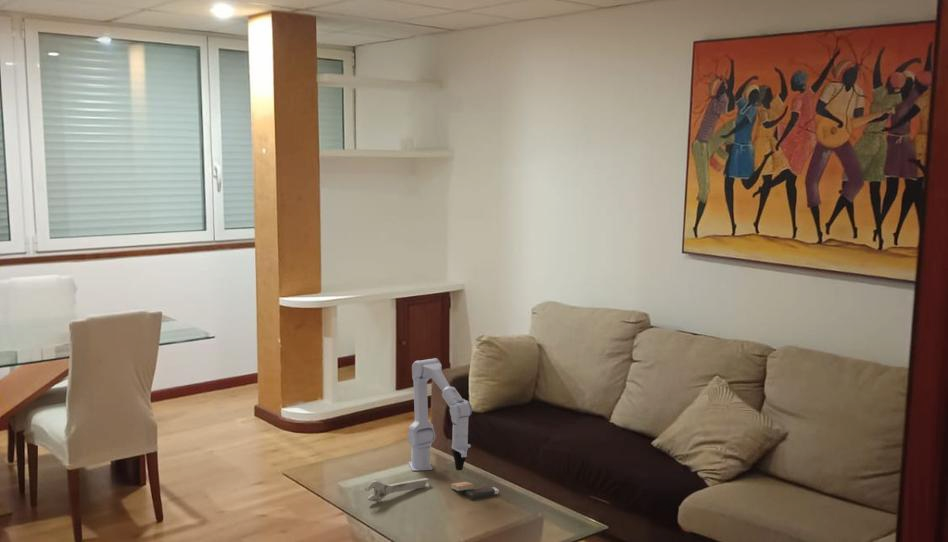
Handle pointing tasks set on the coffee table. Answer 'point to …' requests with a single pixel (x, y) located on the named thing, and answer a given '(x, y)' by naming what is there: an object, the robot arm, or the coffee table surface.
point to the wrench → (393, 488)
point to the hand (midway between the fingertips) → (459, 469)
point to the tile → (462, 486)
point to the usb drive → (481, 493)
